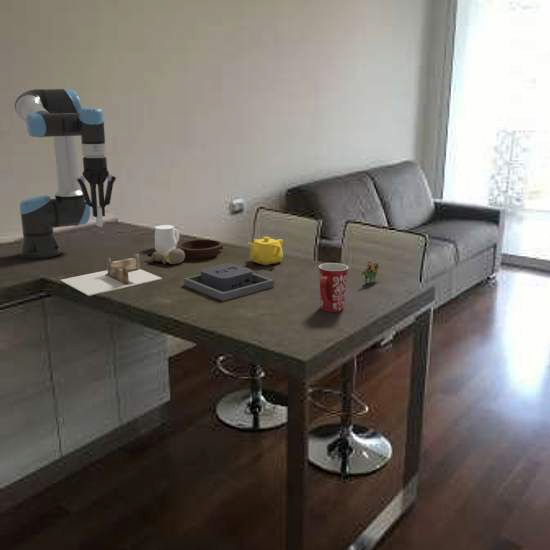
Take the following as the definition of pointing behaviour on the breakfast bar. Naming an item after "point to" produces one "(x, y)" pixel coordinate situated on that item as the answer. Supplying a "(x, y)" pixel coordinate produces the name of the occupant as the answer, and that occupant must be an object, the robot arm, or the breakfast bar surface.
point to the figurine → (370, 272)
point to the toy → (168, 256)
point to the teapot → (266, 250)
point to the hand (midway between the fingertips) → (99, 225)
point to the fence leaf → (119, 273)
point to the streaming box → (226, 277)
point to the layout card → (107, 281)
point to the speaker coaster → (261, 285)
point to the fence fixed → (126, 263)
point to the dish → (200, 248)
